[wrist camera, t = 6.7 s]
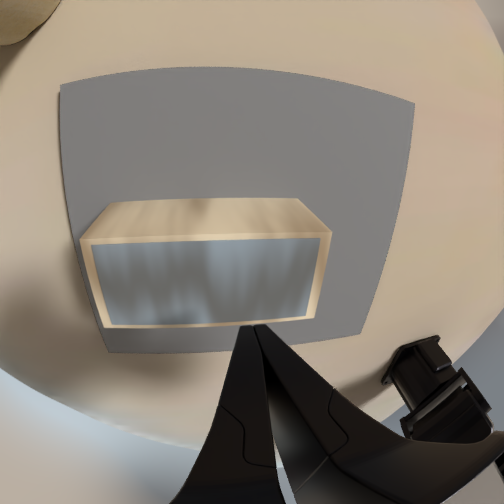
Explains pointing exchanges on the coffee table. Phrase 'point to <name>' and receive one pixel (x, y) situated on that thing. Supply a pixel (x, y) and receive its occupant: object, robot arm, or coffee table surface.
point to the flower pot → (22, 18)
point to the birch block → (205, 262)
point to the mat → (242, 173)
